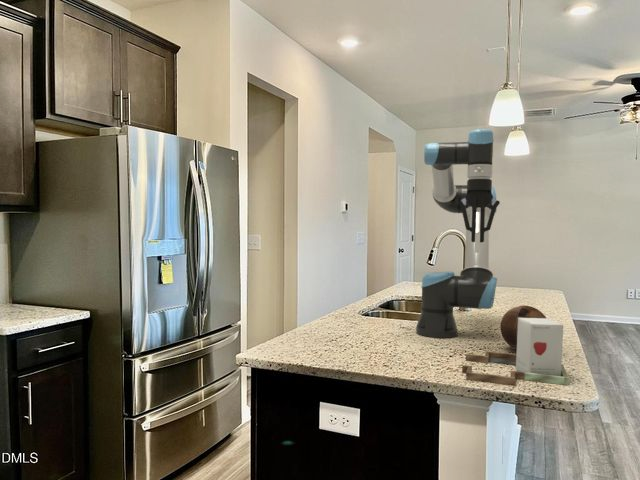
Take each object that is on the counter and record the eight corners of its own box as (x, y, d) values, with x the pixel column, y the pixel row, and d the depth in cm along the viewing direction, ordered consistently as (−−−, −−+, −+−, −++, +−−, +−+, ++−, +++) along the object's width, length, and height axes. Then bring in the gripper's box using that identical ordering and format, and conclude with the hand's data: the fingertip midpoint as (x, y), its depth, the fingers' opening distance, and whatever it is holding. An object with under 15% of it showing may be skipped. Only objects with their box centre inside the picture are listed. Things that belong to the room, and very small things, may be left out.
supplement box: (528, 378, 131) (530, 323, 131) (515, 369, 140) (516, 317, 140) (562, 379, 131) (564, 324, 131) (546, 369, 140) (548, 317, 140)
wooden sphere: (513, 343, 171) (514, 300, 171) (557, 352, 160) (558, 306, 159) (491, 350, 161) (492, 304, 161) (536, 360, 150) (537, 311, 149)
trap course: (460, 378, 130) (460, 371, 130) (467, 354, 154) (467, 349, 154) (571, 392, 121) (571, 385, 121) (560, 365, 145) (560, 359, 145)
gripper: (457, 178, 155) (455, 252, 156) (501, 177, 150) (498, 254, 151) (459, 180, 162) (457, 251, 163) (501, 179, 157) (499, 252, 158)
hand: (477, 252), depth 157 cm, fingers closed
